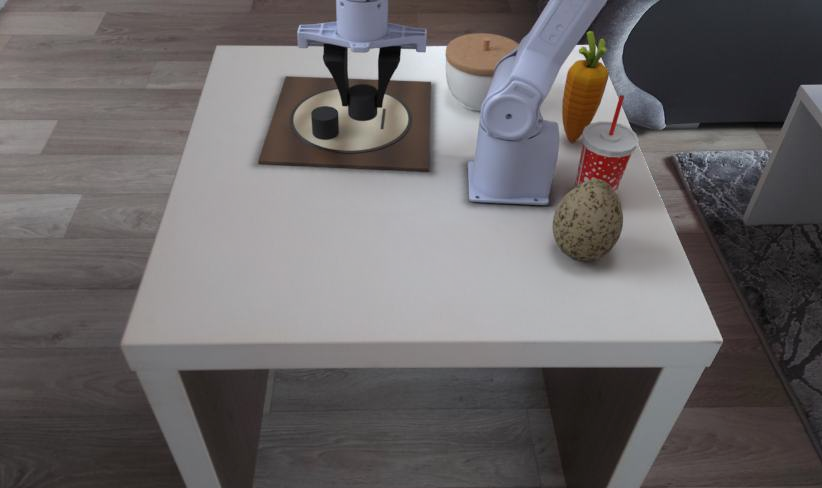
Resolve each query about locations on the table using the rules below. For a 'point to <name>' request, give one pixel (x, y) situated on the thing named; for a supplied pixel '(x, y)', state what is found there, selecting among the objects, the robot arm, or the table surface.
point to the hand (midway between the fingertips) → (362, 102)
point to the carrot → (584, 89)
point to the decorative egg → (588, 221)
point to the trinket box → (474, 66)
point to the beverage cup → (606, 150)
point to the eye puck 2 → (362, 102)
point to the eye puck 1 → (325, 122)
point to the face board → (351, 127)
